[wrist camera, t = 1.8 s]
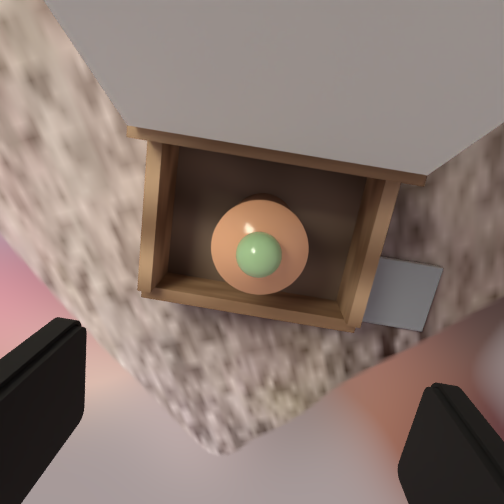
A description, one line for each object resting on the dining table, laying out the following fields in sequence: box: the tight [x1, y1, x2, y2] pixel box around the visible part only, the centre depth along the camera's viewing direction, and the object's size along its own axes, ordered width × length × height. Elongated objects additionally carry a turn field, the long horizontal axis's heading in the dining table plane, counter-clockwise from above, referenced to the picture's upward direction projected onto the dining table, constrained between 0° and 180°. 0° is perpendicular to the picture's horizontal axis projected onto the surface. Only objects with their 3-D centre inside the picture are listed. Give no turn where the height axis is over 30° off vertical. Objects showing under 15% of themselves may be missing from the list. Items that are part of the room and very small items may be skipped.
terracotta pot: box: [211, 193, 309, 295], centre depth 24 cm, size 6×6×10 cm
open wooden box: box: [127, 125, 427, 333], centre depth 18 cm, size 20×17×22 cm
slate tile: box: [362, 256, 443, 332], centre depth 30 cm, size 6×6×1 cm
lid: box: [44, 0, 504, 175], centre depth 12 cm, size 13×16×1 cm
